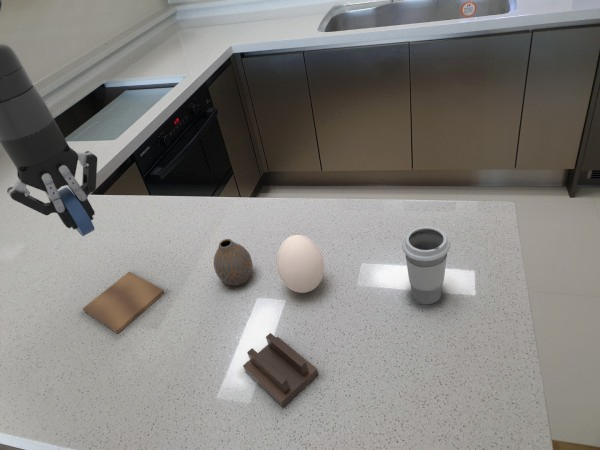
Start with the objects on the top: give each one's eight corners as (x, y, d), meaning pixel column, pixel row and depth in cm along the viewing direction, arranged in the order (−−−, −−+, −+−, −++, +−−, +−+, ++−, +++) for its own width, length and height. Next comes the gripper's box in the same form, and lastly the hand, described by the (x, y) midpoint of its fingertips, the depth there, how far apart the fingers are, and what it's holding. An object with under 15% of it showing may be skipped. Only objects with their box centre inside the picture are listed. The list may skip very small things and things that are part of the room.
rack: (283, 408, 64) (277, 392, 61) (245, 371, 70) (238, 355, 67) (318, 374, 67) (314, 358, 65) (279, 342, 73) (274, 326, 71)
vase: (214, 289, 85) (199, 254, 80) (229, 263, 90) (216, 229, 85) (247, 293, 83) (234, 258, 77) (261, 267, 88) (250, 231, 82)
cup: (419, 316, 72) (418, 260, 65) (396, 289, 77) (393, 235, 70) (457, 298, 74) (460, 241, 66) (432, 273, 79) (433, 218, 71)
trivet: (117, 334, 80) (115, 331, 80) (84, 311, 87) (82, 308, 86) (164, 292, 87) (163, 289, 86) (130, 274, 93) (129, 271, 92)
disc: (84, 241, 77) (81, 228, 70) (57, 203, 77) (50, 185, 70) (95, 235, 78) (93, 221, 71) (68, 197, 78) (63, 179, 71)
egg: (337, 283, 81) (328, 234, 74) (305, 311, 77) (292, 262, 70) (306, 265, 86) (295, 217, 79) (274, 290, 82) (260, 242, 75)
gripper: (-23, 154, 58) (47, 255, 68) (81, 110, 64) (130, 209, 74) (-34, 140, 63) (33, 236, 73) (63, 100, 69) (112, 194, 79)
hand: (82, 222), depth 74 cm, fingers closed on disc, 2 cm apart
